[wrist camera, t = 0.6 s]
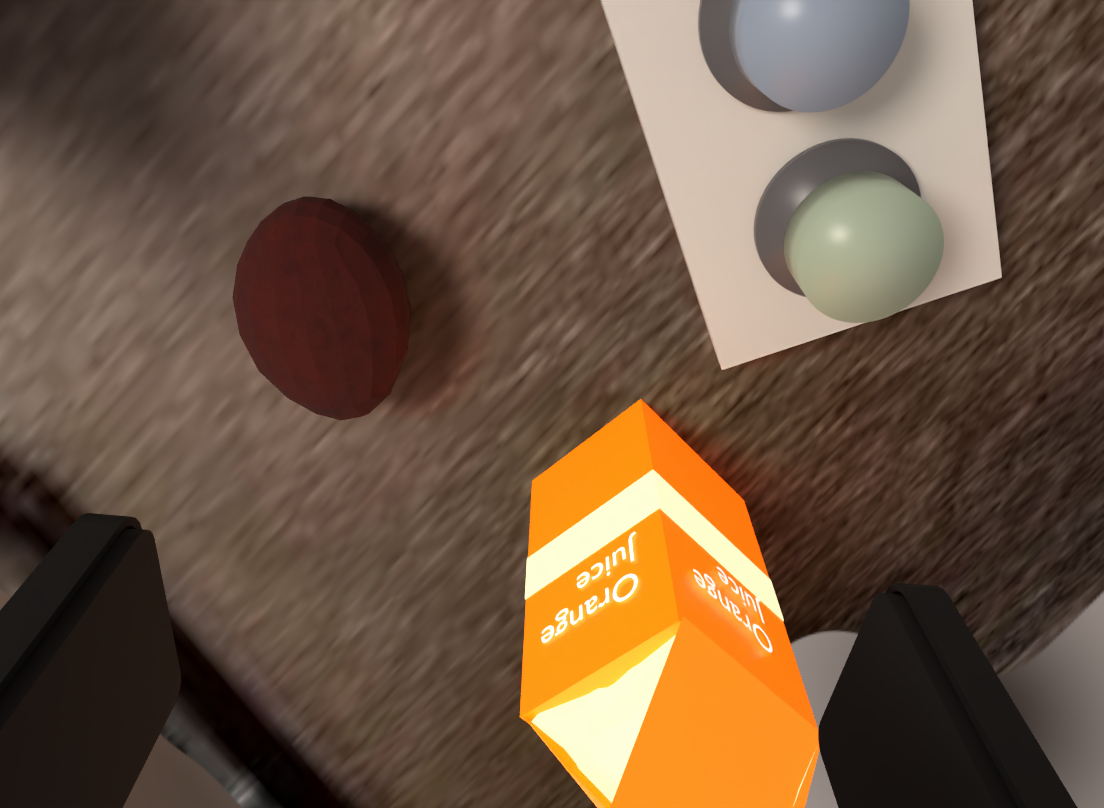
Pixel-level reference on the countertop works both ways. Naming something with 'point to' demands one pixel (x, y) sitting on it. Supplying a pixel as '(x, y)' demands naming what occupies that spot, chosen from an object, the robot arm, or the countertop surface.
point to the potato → (323, 307)
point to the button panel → (801, 159)
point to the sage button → (863, 246)
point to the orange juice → (658, 632)
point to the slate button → (816, 48)
